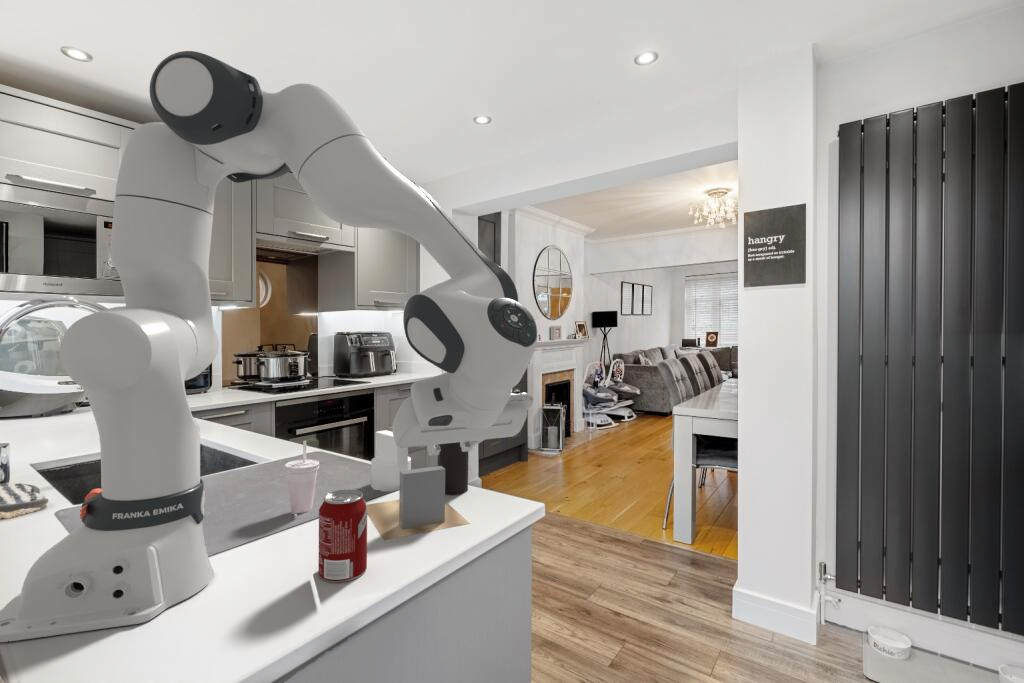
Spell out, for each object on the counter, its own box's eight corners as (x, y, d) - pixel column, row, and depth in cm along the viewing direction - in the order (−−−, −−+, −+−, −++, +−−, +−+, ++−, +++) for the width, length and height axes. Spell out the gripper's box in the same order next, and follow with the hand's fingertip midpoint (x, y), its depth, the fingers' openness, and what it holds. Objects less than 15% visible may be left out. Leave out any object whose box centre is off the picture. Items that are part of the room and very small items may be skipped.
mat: (383, 543, 84) (383, 539, 84) (362, 508, 99) (362, 505, 99) (470, 526, 91) (470, 523, 91) (437, 496, 107) (437, 493, 107)
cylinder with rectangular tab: (363, 485, 114) (363, 433, 113) (395, 476, 121) (395, 428, 120) (386, 494, 108) (386, 440, 108) (418, 484, 115) (419, 433, 114)
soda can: (351, 590, 69) (352, 505, 68) (308, 584, 70) (309, 501, 70) (374, 567, 75) (375, 489, 75) (334, 562, 77) (335, 486, 76)
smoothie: (326, 510, 98) (326, 440, 97) (297, 521, 92) (297, 447, 92) (306, 503, 101) (306, 436, 101) (277, 513, 96) (277, 442, 95)
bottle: (473, 491, 111) (475, 403, 110) (455, 499, 105) (456, 407, 105) (450, 485, 114) (451, 400, 114) (431, 493, 109) (432, 404, 108)
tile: (402, 529, 88) (403, 474, 88) (398, 524, 90) (399, 470, 90) (444, 521, 92) (445, 468, 91) (440, 517, 94) (440, 465, 94)
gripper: (530, 377, 77) (500, 427, 86) (401, 382, 67) (382, 438, 76) (544, 410, 73) (512, 459, 82) (410, 421, 63) (390, 475, 72)
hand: (449, 449), depth 79 cm, fingers open, 4 cm apart
